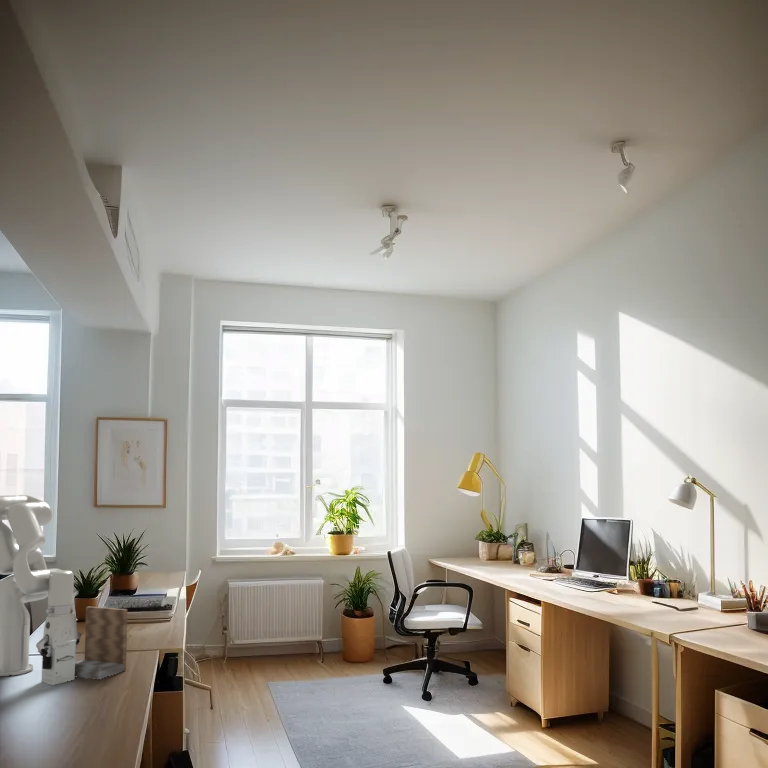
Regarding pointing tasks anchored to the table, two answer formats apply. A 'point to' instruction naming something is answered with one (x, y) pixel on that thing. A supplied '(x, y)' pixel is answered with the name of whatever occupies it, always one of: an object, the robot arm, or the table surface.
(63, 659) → the supplement box
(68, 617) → the robot arm
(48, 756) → the table surface
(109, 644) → the bookend
